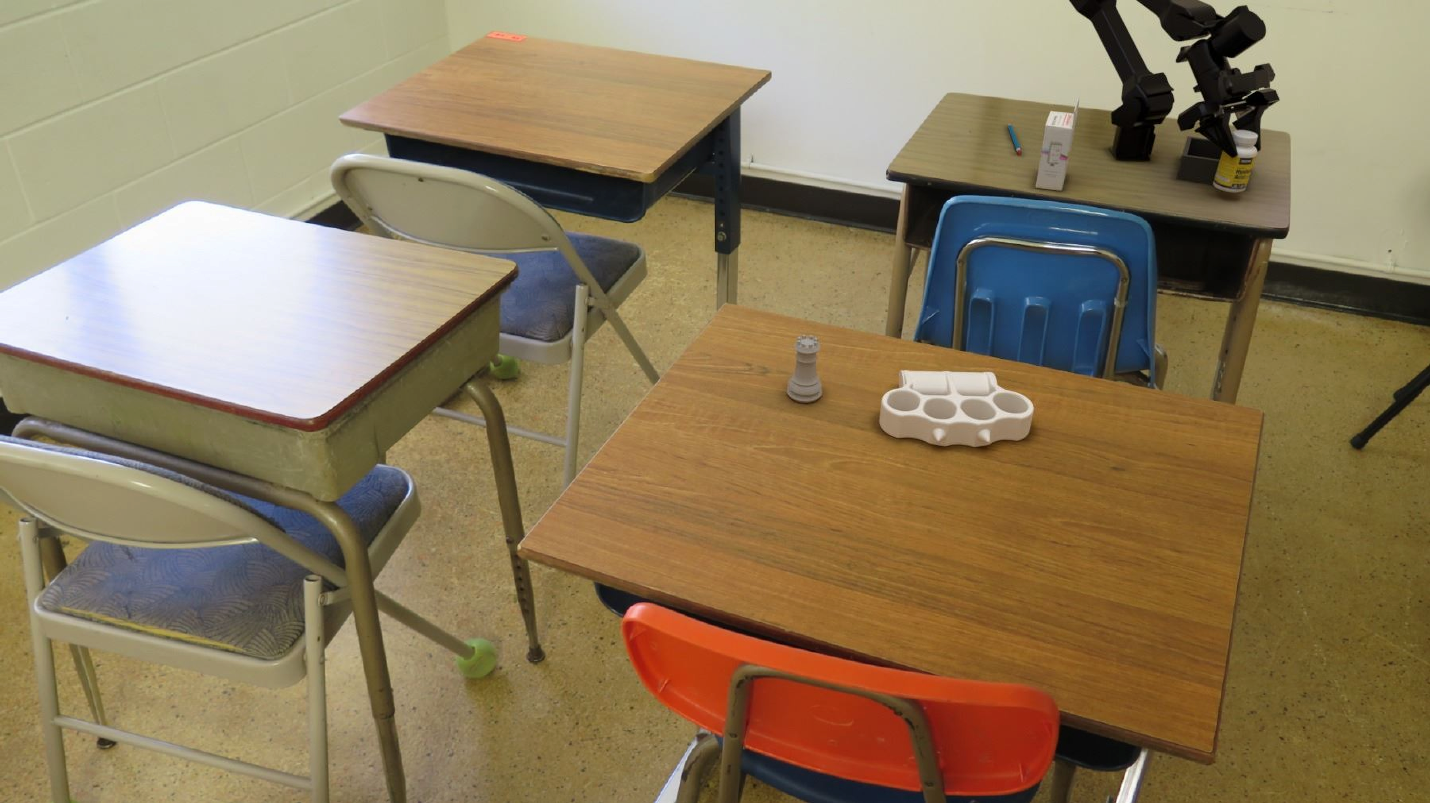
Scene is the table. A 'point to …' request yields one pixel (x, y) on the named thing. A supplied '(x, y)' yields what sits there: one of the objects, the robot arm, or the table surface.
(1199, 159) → the bin
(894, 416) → the knuckle duster
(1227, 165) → the supplement bottle
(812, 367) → the rook chess piece
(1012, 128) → the pencil
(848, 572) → the table surface
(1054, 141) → the ink cartridge box
